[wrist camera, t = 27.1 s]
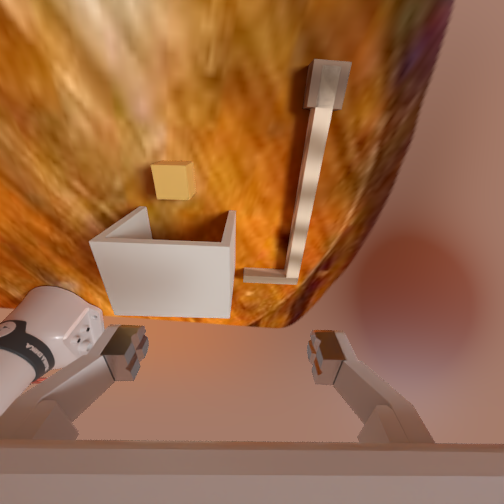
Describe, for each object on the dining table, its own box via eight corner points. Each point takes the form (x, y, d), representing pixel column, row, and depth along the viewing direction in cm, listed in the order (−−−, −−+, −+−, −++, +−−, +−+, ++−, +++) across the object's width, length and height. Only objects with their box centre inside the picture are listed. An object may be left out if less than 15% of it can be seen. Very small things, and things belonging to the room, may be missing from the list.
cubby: (235, 267, 46) (229, 318, 33) (151, 264, 45) (114, 315, 33) (235, 210, 40) (229, 246, 27) (139, 206, 39) (88, 241, 27)
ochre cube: (196, 191, 38) (189, 199, 34) (167, 191, 38) (157, 199, 34) (193, 161, 36) (185, 165, 31) (162, 160, 36) (150, 164, 31)
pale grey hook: (299, 276, 47) (302, 284, 45) (243, 273, 47) (243, 282, 44) (342, 68, 30) (351, 62, 27) (255, 60, 30) (255, 53, 27)
